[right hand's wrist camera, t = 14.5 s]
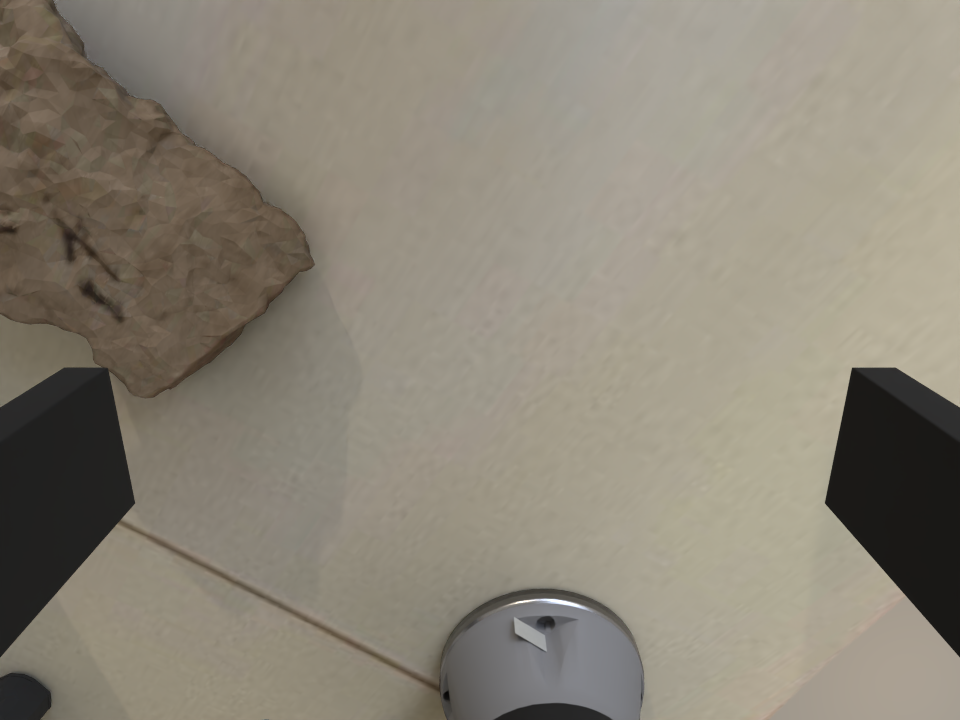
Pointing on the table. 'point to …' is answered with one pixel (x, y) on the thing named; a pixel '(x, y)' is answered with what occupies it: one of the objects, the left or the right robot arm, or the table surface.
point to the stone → (123, 215)
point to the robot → (22, 698)
